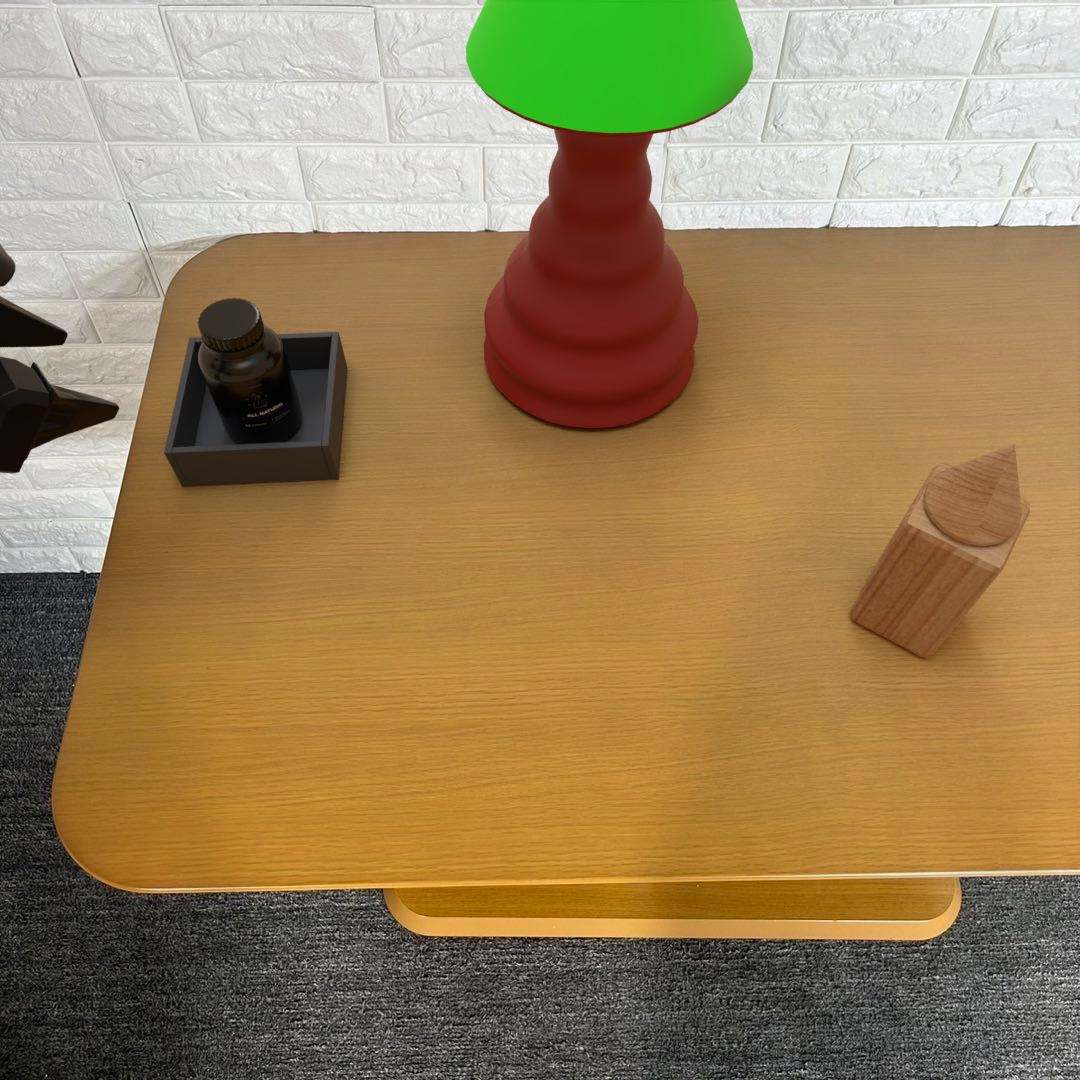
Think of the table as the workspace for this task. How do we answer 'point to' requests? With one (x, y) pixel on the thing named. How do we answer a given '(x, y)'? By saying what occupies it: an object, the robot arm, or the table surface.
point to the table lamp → (600, 197)
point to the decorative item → (944, 552)
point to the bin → (305, 456)
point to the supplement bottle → (247, 373)
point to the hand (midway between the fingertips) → (90, 373)
